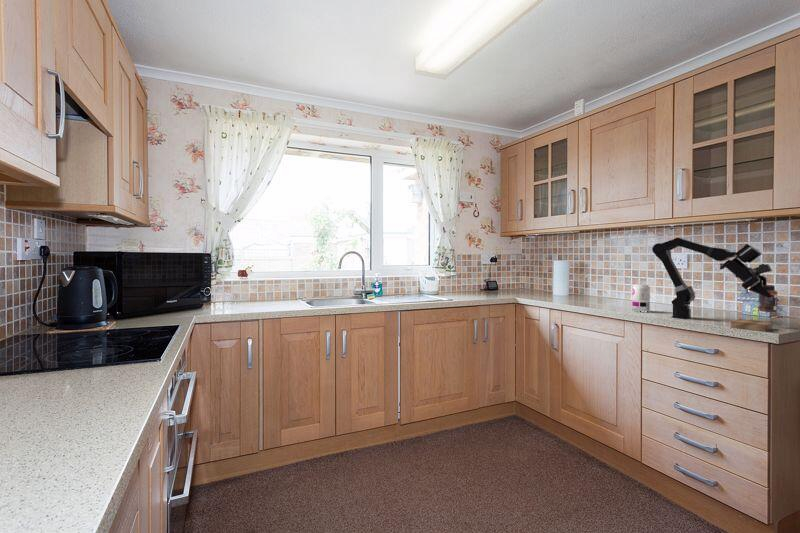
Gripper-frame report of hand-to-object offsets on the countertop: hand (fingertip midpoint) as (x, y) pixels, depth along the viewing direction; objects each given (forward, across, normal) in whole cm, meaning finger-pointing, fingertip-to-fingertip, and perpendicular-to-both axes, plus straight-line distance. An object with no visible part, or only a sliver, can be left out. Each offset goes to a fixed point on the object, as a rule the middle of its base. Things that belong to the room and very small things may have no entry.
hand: (772, 296), depth 171 cm
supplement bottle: (+4, 0, +6) cm, 7 cm away
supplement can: (-29, +10, +49) cm, 57 cm away
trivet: (+6, -10, +13) cm, 17 cm away
